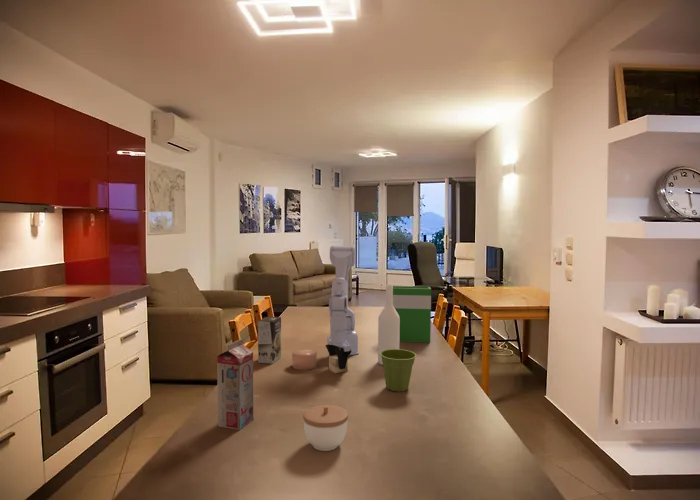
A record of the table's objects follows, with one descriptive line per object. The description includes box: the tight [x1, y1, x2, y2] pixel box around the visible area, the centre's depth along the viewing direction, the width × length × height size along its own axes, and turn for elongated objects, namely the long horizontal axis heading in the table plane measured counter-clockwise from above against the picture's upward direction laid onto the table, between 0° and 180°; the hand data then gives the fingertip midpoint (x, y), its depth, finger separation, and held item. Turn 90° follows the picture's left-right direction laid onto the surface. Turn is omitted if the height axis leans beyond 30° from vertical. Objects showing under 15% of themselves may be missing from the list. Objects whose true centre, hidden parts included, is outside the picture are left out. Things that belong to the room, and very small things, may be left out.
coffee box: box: [257, 316, 282, 365], centre depth 180 cm, size 9×6×16 cm
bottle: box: [377, 283, 400, 366], centre depth 176 cm, size 8×8×30 cm
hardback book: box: [393, 285, 432, 343], centre depth 212 cm, size 18×7×24 cm, turn 85°
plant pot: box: [380, 348, 418, 392], centre depth 150 cm, size 12×12×11 cm
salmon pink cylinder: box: [291, 349, 318, 371], centre depth 173 cm, size 9×9×5 cm
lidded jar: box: [302, 404, 349, 452], centre depth 112 cm, size 11×11×9 cm
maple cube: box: [328, 355, 349, 374], centre depth 168 cm, size 5×5×5 cm
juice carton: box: [216, 338, 255, 431], centre depth 123 cm, size 7×7×22 cm
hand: (338, 366), depth 168 cm, fingers open, 6 cm apart
